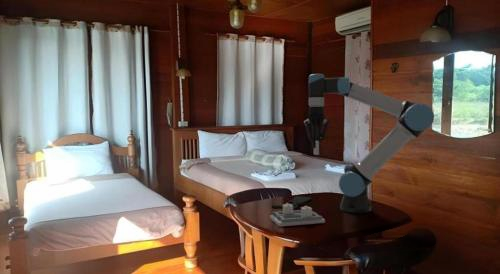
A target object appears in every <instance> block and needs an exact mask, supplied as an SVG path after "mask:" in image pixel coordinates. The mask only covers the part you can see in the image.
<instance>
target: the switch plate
mask: <svg viewBox="0 0 500 274" xmlns="http://www.w3.org/2000/svg"><path fill="white" fill-rule="evenodd" d="M269 219H270V220H271V221H272V222H273V223H274V222H275V225H276V226H277V227H286V226H287V227H289V226H301V225H313V224H314V225H315V224H325V223H326V219H325V218H323V216H322V215H319V214H318V213H317V212H316V211H313V210H312V217H301V209H300V210H299V209H298V210H296V209H294V210H293V214H283V210H282V211H273V212H272V214H271V215H269Z"/></svg>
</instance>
